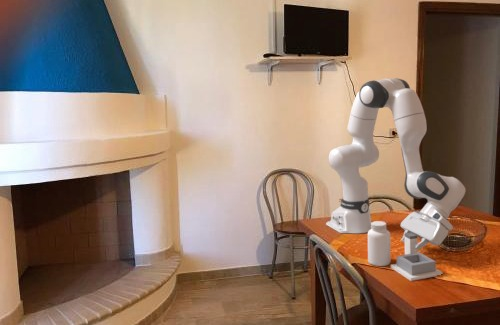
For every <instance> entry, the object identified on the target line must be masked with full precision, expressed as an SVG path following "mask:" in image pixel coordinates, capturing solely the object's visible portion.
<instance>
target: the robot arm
mask: <svg viewBox="0 0 500 325" xmlns="http://www.w3.org/2000/svg"><path fill="white" fill-rule="evenodd" d="M382 108H388V109H389V110H390V111H391V113H392V118H393V122H394V126H395V129H396V133H397V136H398V140H399V145H400V149H401V154H402V155H401V156H402V159H403V164H404V165H403V166H404V169H405V178H404V185H403V186H404V190H405V192H406V194H407V195H408V196H410V197H411V198H413V199H415V200H421V199H425V200H427V202H426V204H424V206H423V207H422V208H421V210H414V211H412V212H410V213H409V214H408V215H407V216H406V217H405V218H404V219H403V220H402V221H401V222H400V227H401V228H402V229H403V230H404V232H403V236H402V238H401V239H400V240H401V242H402V243H404V244H405V238H404V234H406V233H413V234H415V235H417V238H419V239H420V240H421V241H419V242H417V243H416V244H415V246H414V248H415V249H417V251H419V252H420V250H421V249H422V248H423V247H425V246H427V245H428V244H429V243H430V244H431V245H433V246H436V247H437V246H440V245H441V244H442V243H443V242H444V240H445V238H446V237H447V236H448V234H449V231H452V230H453V228H454V226H453V224H452V223H450V222H449V220H448V218H449V216H450V214H451V212H452V211H454V210H455V209H456V208H457V207H458V206H459V205H460V203H461V201H462V199H463V198H464V196H465V194H466V187H465V185H464V184H463V183H462V181H461V180H459V178H456V177H454V176H445V175H441V174H439V173H436V172H434V171H430V170H425V171H424V169H423V165H422V159H421V154H420V145H421V142H422V140H423V138H424V136H426V133H427V125H428V124H427V119H426V115H425V114H426V113H425V111H424V108H423V105H422V103H421V100H420V98H419V96H418V93H417V92H416V90H414V89H413V88H411V87H410V84H409V83H408V82H407V81H406V80H405V79H402V78H397V77H396V78H382V79H375V80H374V79H373V80H369V81H367V82H365V83H363V84H362V85H361V87H360V88H359V91H358V92H357V93H356V96H355V98H354V100H353V103H352V106H351V108H350V112H349V113H350V114H349V117H348V123H347V126H346V127H347V128H346V129H347V130H346V131H347V133H348V134H349V135H350V136H351V137H352V141H351V143H350V144H346V145H345V144H344V145H340V146H338V147H335V148H333V149H331V150H330V152H329V154H328V164H329V166H330V168H331V169H333V170H334V171H335V172H336V173H337V174H338V176H339V178H340V181H341V187H342V198H339V199H338V200H339V202H340V206H338V207H337V208H336V209H334V210H333V211H332V212H331V214H330V215H331V216H330V220H328V221H327V222H326V223H325V225H326V226H328V227H329V228H331V229H333V230H335V231H336V232H337V233H340V234H365V233H368V231H369V230H370V229H371V223H372V222H373V221H372V217H371V216H372V214H371V210H370V198H369V190H368V189H369V186H368V185H369V183H368V181H367V179H365V177H363V176H361V174H360V173H361V172H360V170H359V169H360V168H363V167H368V166H371V165H373V164H375V163H376V162H377V161H378V160H379V157H380V150H379V147H378V146H377V145H376V144H375V142H374V131H375V128H376V127H375V125H376V122H377V118H378V112H379V110H380V109H382Z"/></svg>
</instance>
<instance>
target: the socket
mask: <svg viewBox="0 0 500 325" xmlns="http://www.w3.org/2000/svg"><path fill="white" fill-rule="evenodd" d="M436 266H437V265H436V260H434V259H432V257H431V258H430V257H429V256H427V255H425V254H423V253H422V252H420V251H419V252H418V253H412V254H406V255H405V254H401V255H396V263H392V264H390V268H391V269H392V270H393V271H395V272H396V273H399V274H400V275H401V276H402V277H404V278H406V279H407V280H409V281H410V282H413V281H418V280H423V279H427V278H433V277H438V276H437V275H439V274H443V271H442V270H440V269H439V268H436ZM443 275H444V274H443Z"/></svg>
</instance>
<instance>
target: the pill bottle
mask: <svg viewBox="0 0 500 325" xmlns="http://www.w3.org/2000/svg"><path fill="white" fill-rule="evenodd" d="M371 222H372V223H371V229H370V230H369V231H368V232H367V261H368V264H370V265H372V266H376V267H386V266H388V264H389V265H391V261H392V260H391V256H392V255H391V232H390V231H389V230H388V229H387V223H386V222H385V221H383V220H382V221H381V220H380V221H379V220H376V221H375V220H374V221H371Z"/></svg>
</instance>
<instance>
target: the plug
mask: <svg viewBox="0 0 500 325" xmlns="http://www.w3.org/2000/svg"><path fill="white" fill-rule="evenodd" d="M403 235H404V238H405V243H404V255H406V254H412V253H418V250H417V249H415V248H414V246H415V244H416V243H417V244H418V237H417V235H415V234H413V233H406V234H404V233H403Z"/></svg>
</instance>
